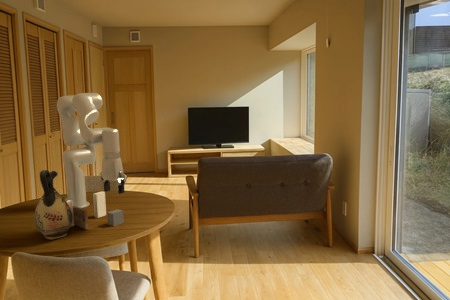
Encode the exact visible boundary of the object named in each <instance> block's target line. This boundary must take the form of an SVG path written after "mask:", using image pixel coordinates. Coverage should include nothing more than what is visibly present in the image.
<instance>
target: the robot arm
mask: <svg viewBox="0 0 450 300" xmlns="http://www.w3.org/2000/svg"><path fill="white" fill-rule="evenodd" d="M103 104H104V101H103V98H102V96H101V95H100V94H99V93H98V92H81V93H80V92H79V93H77V94H75V95H74V94H73V95H63V96H60V97H59V98H58V99H57V101H56V109H57V112H58V115H59V118H60V121H61V128H62V137H63V142H64V144H65V146H67V147H73V148H69V149H66V150H64V151H63V153H62V154H61V155H62V156H61V157H62V163H63V166H64V170H65V171H64V172H65V173H64V174H65V182H66V183H65V184H66V185H65V186H66V194H67V196H66V198H64V199H65V201H68V200H71V201H73V206H76V207H79V208H82V209H85V208H87V207H89V206H90V202H89V201H87V193H86V192H87V191H86V179H85V172H84V171H83V169H82V168H80V166H85V165H91V164H94V163H95V162H96V160H97V149H96V145H102V155H103V157H102V160H101V172H100V173H99V175H100V179H101V180H102V184H103V189H104V191H103V192H105V193H106V192H109V191H111V182H116V183H117V184H118V185H117V191H118V192H117V193H118V194H119V195H121V194H124V193H125V185H126V182H127V179H128V175H126V174H125V173H124V168H123V163H122V158H121V148H120V135H119V134H120V133H119V132H120V131H119V130H118V129H117V128H112V127H97V128H91V127H89V126H90V125H92V124H94V123H95V122H96V121H97V120H98V119H99V118H100V113H99V110H100V109H101V108H102V107H103ZM75 112H77V113H78V115H79V116H80V118H81V119H80V121H79V118H78V116H77V115H76V114H75ZM77 146H83V147H77ZM74 147H75V148H74Z"/></svg>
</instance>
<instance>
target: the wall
mask: <svg viewBox="0 0 450 300" xmlns="http://www.w3.org/2000/svg"><path fill="white" fill-rule="evenodd" d="M92 197H93V198H92V199H93V212H94V213H93V214H94V218H97V219H99V218H102V217H104V216H107V206H106V204H107V203H106V202H107V201H106V192H105V191H99V192H95V193H92ZM66 202H67V203H68V205H69V207H70V209H71V212H72V215H73V221H72V224H71V227H74V226H75V224H74V214H73V201H71V200H68V201H66Z"/></svg>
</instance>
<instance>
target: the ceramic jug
mask: <svg viewBox="0 0 450 300" xmlns="http://www.w3.org/2000/svg"><path fill="white" fill-rule="evenodd" d="M57 176H58V172H57V171H56V170H52V171H49V170H46V169H42V170H41V171H40V172H39V179H40V180H39V181H40V184H41V187H42V189H43V194H42V195H41V197H40V199H39V201H38V203H37V204H36V206H35V210H34V211H35V212H34V215H33V216H34V218H33V219H34V225H35V228H36V229H37V231H39V232H40V233H41V234H42V235H43V236H44V238H45V239H46V240H56V239H60V238H64V237H66V236H67V235H69V234H68V231H69V230H70V228H71V227H72V226H71V224H72V221H73V215H72V212H71V209H70V207H69V205H68V203H67V202H66V201H65V199H66V198H64V197H63V196H62V195H61V193H59V192H58V191H57V190H56V188H55V187H54V179H56V177H57Z"/></svg>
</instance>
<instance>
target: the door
mask: <svg viewBox="0 0 450 300" xmlns="http://www.w3.org/2000/svg"><path fill="white" fill-rule="evenodd" d="M73 214H74V226H77V227H79V228H82V229H84V230H89V219H88V218H89V217H88V210H87V209H85V208H79V207H76V206H73Z"/></svg>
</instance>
